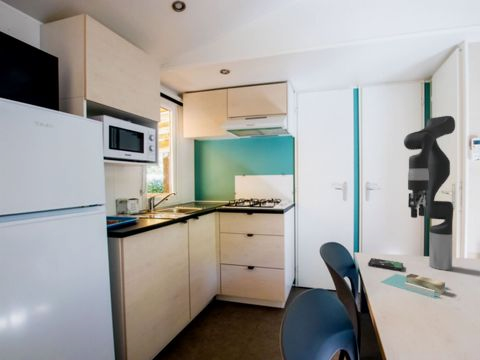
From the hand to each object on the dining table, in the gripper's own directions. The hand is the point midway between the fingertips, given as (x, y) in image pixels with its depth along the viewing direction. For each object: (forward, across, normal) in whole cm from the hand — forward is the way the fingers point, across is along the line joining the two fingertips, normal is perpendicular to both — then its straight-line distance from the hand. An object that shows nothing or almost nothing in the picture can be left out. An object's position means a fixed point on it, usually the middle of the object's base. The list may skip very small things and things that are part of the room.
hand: (418, 216), depth 117 cm
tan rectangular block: (+28, -7, -5) cm, 29 cm away
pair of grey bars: (+28, -7, -5) cm, 29 cm away
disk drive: (+29, +9, +17) cm, 35 cm away
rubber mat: (+28, -7, -1) cm, 29 cm away
